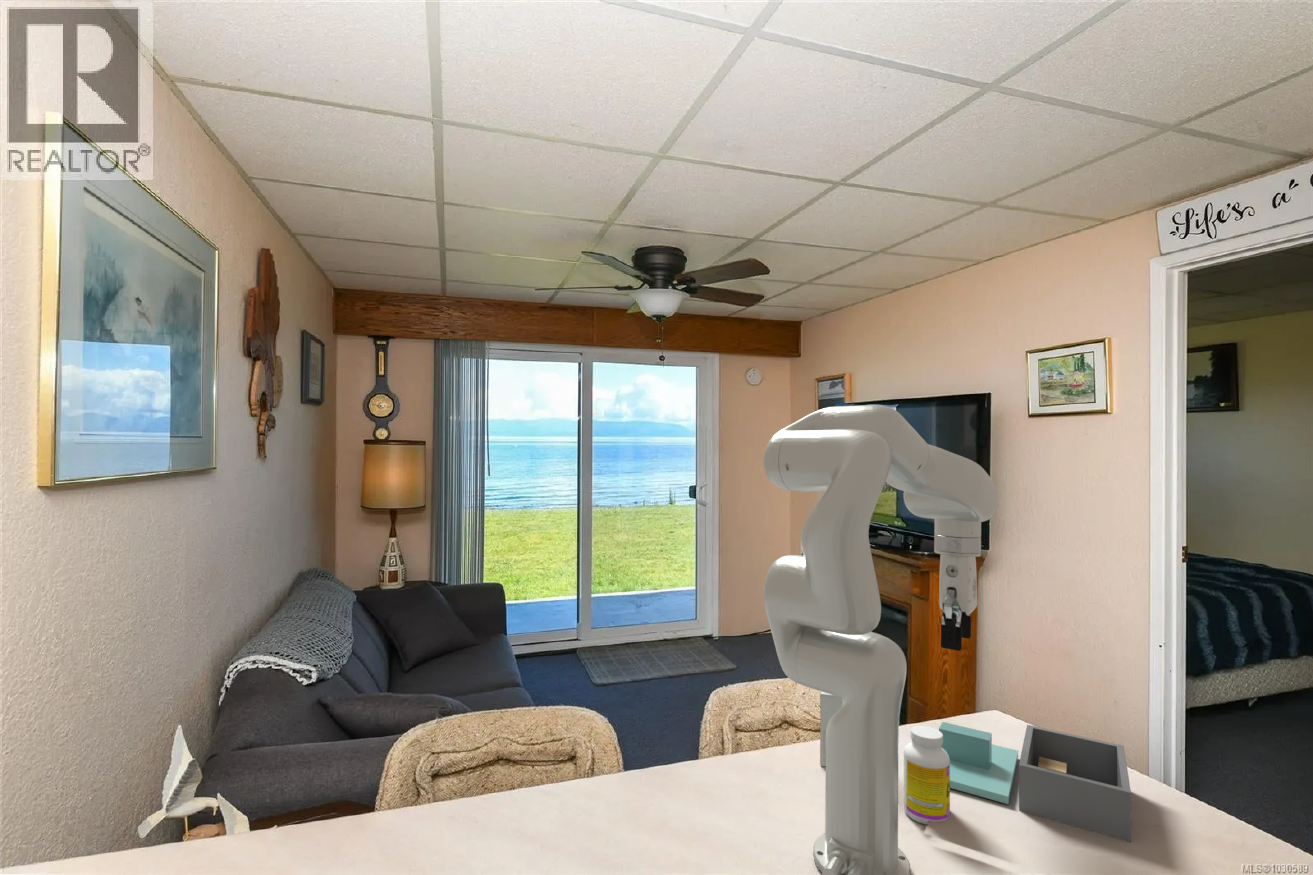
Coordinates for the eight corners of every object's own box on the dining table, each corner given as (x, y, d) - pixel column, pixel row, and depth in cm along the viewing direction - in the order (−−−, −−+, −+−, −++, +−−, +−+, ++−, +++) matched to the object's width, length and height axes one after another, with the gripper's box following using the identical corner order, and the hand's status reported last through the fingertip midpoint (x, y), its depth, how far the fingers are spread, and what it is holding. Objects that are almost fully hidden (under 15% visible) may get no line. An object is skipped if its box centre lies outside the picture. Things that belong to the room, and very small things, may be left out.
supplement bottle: (954, 830, 94) (955, 744, 95) (908, 824, 96) (908, 739, 96) (943, 806, 101) (944, 725, 101) (900, 801, 102) (900, 721, 102)
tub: (1131, 849, 90) (1131, 792, 90) (1019, 816, 98) (1019, 764, 98) (1124, 794, 105) (1123, 745, 105) (1027, 769, 113) (1027, 724, 113)
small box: (823, 746, 121) (823, 678, 121) (858, 752, 119) (858, 682, 119) (819, 766, 113) (819, 693, 114) (856, 772, 111) (856, 698, 111)
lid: (1008, 814, 99) (1008, 764, 99) (908, 785, 108) (908, 739, 108) (1018, 766, 115) (1018, 723, 115) (930, 743, 123) (930, 703, 124)
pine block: (1066, 791, 104) (1066, 773, 104) (1037, 784, 106) (1037, 766, 106) (1066, 781, 107) (1066, 763, 107) (1039, 774, 109) (1039, 756, 109)
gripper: (973, 552, 103) (972, 658, 102) (987, 543, 117) (986, 636, 116) (924, 548, 107) (923, 649, 107) (943, 539, 121) (942, 629, 121)
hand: (956, 642), depth 111 cm, fingers open, 9 cm apart
